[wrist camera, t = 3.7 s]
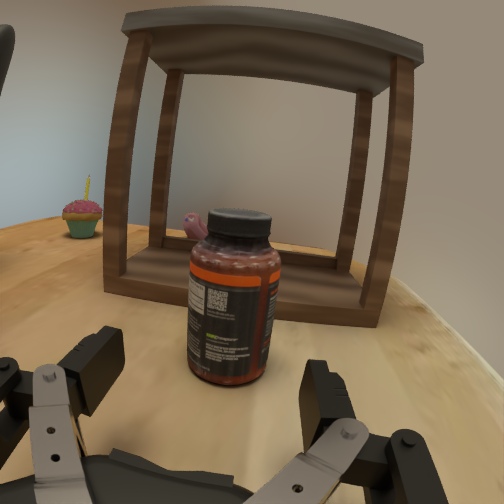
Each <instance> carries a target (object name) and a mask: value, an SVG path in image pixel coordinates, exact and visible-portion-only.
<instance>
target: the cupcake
mask: <svg viewBox="0 0 504 504" xmlns="http://www.w3.org/2000/svg"><path fill="white" fill-rule="evenodd" d="M89 177H90V175H89ZM89 177H88V179H87V183H86V191H85V199H84V200H75V201H74V202H72V203H70V204H68V205H66V207H65V208H64V209H63V213H62V218H63V220H66V222H67V224H68V227H69V230H70V234H71V236H72V237H74V238H88V237H92V236H93V234H94V230H95V227H96V224H97V222H98V220H99V219H101V217H102V208H101V207H100V206H99V205H98V204H97V203H94V202H92V201H87V200H88V191H89V184H90V179H89Z"/></svg>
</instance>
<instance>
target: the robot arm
mask: <svg viewBox="0 0 504 504" xmlns="http://www.w3.org/2000/svg"><path fill="white" fill-rule="evenodd" d="M14 44H15V32H14V29H13V27H12V26H11V25H6V24H5V25H0V95H1V91H2V88H3V84H4V81H5V77H6V74H7V71H8V68H9V64H10V61H11V58H12V53H13V50H14ZM124 364H125V354H124V343H123V333H122V330H121V329H118V328H114V327H109V326H104V327H103V328H102V329H101V330H100V331H99V332H98V333H97V334H94V333H93V334H91V335H89V336H87V337H85V338H83V339H82V340H81V341H80V342H79V343H78V345H76V346H75V347H74V348H73V350H71V351H70V352H69V353H68V354H67V355H66V356H65V357H64V358H63V359H62V360H61V361H60V362H59V363H58V364H57V365H54V364H46V365H42V366H40V367H38V368H37V369H36V370H35V371H34V372H29V371H23V370H20V369H19V365H18V363H17V361H16V360H15V359H13V358H10V357H3V358H0V403H1V401H2V400H3V402H4V405H5V407H4V408H3V410H2V411H1V412H0V470H1V468H2V467H3V465H4V464H5V462H6V461H7V459H8V458H9V456H10V455H11V453H12V452H13V450H14V449H15V447H16V446H17V444H18V443H19V442H20V440H21V439H22V437H23V436H24V435H25V433H26V432H27V430H28V429H29V428H30V439H31V449H32V458H33V466H34V472H35V474H34V475H30V476H27V477H24V478H21V479H17V480H14V481H10V482H6V483H3V484H0V504H325V503H326V502H327V500H328V499H329V498H330V497H331V496H332V494H333V493H334V492H335V490H336V489H337V488H338V487H339V485H340V484H341V483H346V484H351V485H356V486H362V487H363V490H364V496H365V503H366V504H449V503H448V500H447V497H446V495H445V492H444V489H443V486H442V484H441V481H440V478H439V475H438V473H437V470H436V468H435V465H434V462H433V460H432V457H431V455H430V452H429V450H428V447H427V445H426V443H425V440H424V438H423V437H422V436H421V435H420V434H419V433H417V432H415V431H413V430H410V429H400V430H397V431H395V432H394V433H393V434H392V436H391V438H390V437H384V436H379V435H374V434H371V433H369V430H368V428H367V427H366V425H364V424H363V423H362V422H360V421H358V420H356V417H355V413H354V410H353V407H352V404H351V401H350V398H349V397H348V396H349V395H348V392H347V390H346V386H345V383H344V380H343V379H342V378H341V377H340V376H339V375H338V374H337V373H334V372H329V369H328V365H327V362H326V361H325V360H311V359H308V361H307V363H306V367H305V371H304V375H303V378H302V382H301V386H300V390H299V408H300V417H301V427H302V436H303V446H304V453H302V452H301V453H299V454H298V455H297V456H296V457H295V458H293V459H292V460H291V461H290V462H289V463H288V464H287V465H286V466H285V467H284V468H283V469H282V470H281V471H280V472H279V473H278V474H277V475H275V476H274V477H273V478H272V479H271V480H270V481H269V482H268V483H266V484H265V485H264V486H263V487H262V488H261V489H260V490H258V491H257V492H256V493H255V494H254V493H253V492H251V491H249V490H247V489H246V488H243V487H241V486H239V485H236V484H233V479H234V476H232V475H225V474H218V473H211V472H205V471H170V470H167V469H164V468H162V467H160V466H158V465H156V464H154V463H152V462H150V461H148V460H146V459H144V458H142V457H140V456H137V455H133V454H130V453H127V452H124V451H121V450H118V449H115V448H113V449H112V451H111V453H110V455H91V456H88V454H87V450H86V447H85V443H84V439H83V435H82V431H81V427H80V423H79V419H78V417H79V415H80V414H84V415H87V416H89V417H91V416H92V414H93V413H94V411H95V410H96V408H97V407H98V405H99V404H100V402H101V401H102V399H103V398H104V397H105V395H106V394H107V392H108V391H109V389H110V388H111V386H112V385H113V384H114V382H115V381H116V379H117V378H118V376H119V375H120V374H121V372H122V370H123V368H124Z"/></svg>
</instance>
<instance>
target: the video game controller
mask: <svg viewBox="0 0 504 504" xmlns="http://www.w3.org/2000/svg"><path fill="white" fill-rule="evenodd" d="M183 226H184V230H185V233H186V235H187V236H188V238H189V239H197V240H203V239H204V238H205V237H206V236H207V235H208V230H207V226H206V225H205V224H204V223H203V222H202V220H201V219H200V216H199V215H198V214H196V213H189V214H186V215H185V221H183Z"/></svg>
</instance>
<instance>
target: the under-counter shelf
mask: <svg viewBox="0 0 504 504" xmlns="http://www.w3.org/2000/svg"><path fill="white" fill-rule="evenodd" d="M121 31H122V32H123V33H124V34H125V35H126V36H127V37H128V38H129V40H128V44H127V47H126V51H125V55H124V59H123V64H122V68H121V73H120V78H119V82H118V87H117V93H116V98H115V104H114V110H113V117H112V123H111V130H110V139H109V146H108V156H107V166H106V178H105V191H104V211H103V277H104V292H109V293H114V294H119V295H124V296H129V297H135V298H140V299H145V300H151V301H156V302H162V303H168V304H174V305H180V306H186V307H188V294H189V272H190V256H191V252H192V249H193V247H194V246H195V245H196V244H197V243H199V242H200V241H202V240H197V239H189V238H181V237H173V236H166V220H167V207H168V195H169V184H170V183H169V182H170V173H171V164H172V155H173V146H174V138H175V130H176V123H177V116H178V109H179V103H180V97H181V90H182V84H183V79H184V74H212V75H232V76H247V77H258V78H268V79H277V80H284V81H292V82H298V83H305V84H311V85H317V86H322V87H328V88H333V89H338V90H343V91H347V92H352V93H356V105H355V117H354V128H353V139H352V149H351V157H350V165H349V174H348V181H347V188H346V196H345V203H344V209H343V216H342V222H341V228H340V234H339V240H338V246H337V251H336V256H335V257H330V256H323V255H315V254H307V253H299V252H292V251H284V250H276V249H275V250H276V251H277V252H278V253H279V255H280V258H281V270H280V278H279V286H278V293H277V300H276V306H275V313H274V319H281V320H290V321H299V322H309V323H320V324H331V325H343V326H356V327H371V328H376V326H377V323H378V320H379V316H380V313H381V309H382V305H383V302H384V298H385V294H386V290H387V286H388V282H389V278H390V274H391V269H392V265H393V260H394V256H395V251H396V246H397V241H398V236H399V231H400V226H401V220H402V214H403V208H404V201H405V194H406V187H407V180H408V171H409V161H410V152H411V141H412V139H411V138H412V126H413V105H414V69H415V68H416V67H418V66H420V65H421V64H423V63H424V56H423V44H421V43H419V42H416V41H414V40H411V39H408V38H405V37H402V36H399V35H396V34H393V33H390V32H387V31H384V30H381V29H377V28H374V27H370V26H367V25H363V24H359V23H355V22H351V21H347V20H343V19H338V18H333V17H328V16H323V15H318V14H312V13H306V12H299V11H292V10H284V9H275V8H263V7H249V6H248V7H247V6H187V7H172V8H161V9H153V10H144V11H138V12H131V13H126V15H125V19H124V22H123V25H122V29H121ZM148 57H150V58H151V59H152V60H153V61H154V62H155V63H156V64H157V65H158V66H159V67H160V68H161V69H162V70H163V71H164V72H165V73H166V74H167V80H166V85H165V91H164V97H163V102H162V109H161V115H160V122H159V130H158V138H157V146H156V153H155V162H154V172H153V183H152V195H151V209H150V225H149V246H148V247H147V248H145V249H143V250H142V251H140V252H138V253H137V254H135V255H134V256H132V257H130V258H129V259H127V220H128V201H129V186H130V175H131V164H132V155H133V145H134V137H135V130H136V123H137V116H138V110H139V103H140V98H141V92H142V86H143V81H144V76H145V71H146V66H147V61H148ZM388 87H390V97H389V115H388V129H387V141H386V151H385V160H384V170H383V177H382V185H381V192H380V199H379V206H378V212H377V218H376V224H375V229H374V235H373V241H372V246H371V251H370V256H369V261H368V265H367V270H366V274H365V279H364V283H363V288H362V287H361V286H360V285H359V283H358V282H357V281H356V280H355V279H354V277H353V276H352V275H351V274H350V273H349V270H350V265H351V260H352V255H353V250H354V244H355V239H356V233H357V228H358V222H359V215H360V209H361V203H362V196H363V189H364V181H365V173H366V166H367V157H368V148H369V138H370V126H371V113H372V99H373V98H374V97H375V96H377V95H378V94H380V93H381V92H382V91H384V90H385V89H386V88H388Z"/></svg>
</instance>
